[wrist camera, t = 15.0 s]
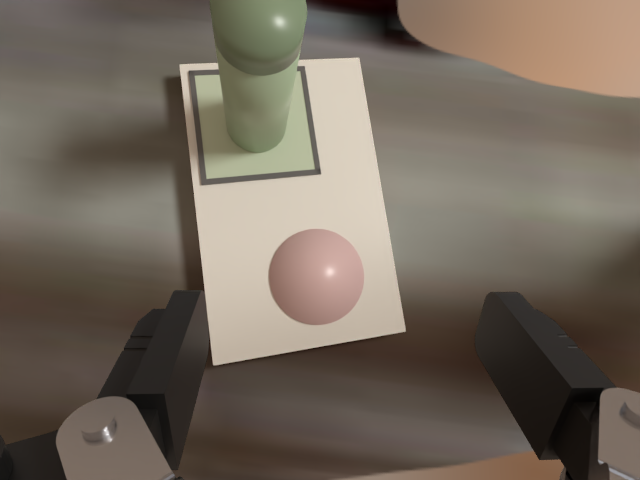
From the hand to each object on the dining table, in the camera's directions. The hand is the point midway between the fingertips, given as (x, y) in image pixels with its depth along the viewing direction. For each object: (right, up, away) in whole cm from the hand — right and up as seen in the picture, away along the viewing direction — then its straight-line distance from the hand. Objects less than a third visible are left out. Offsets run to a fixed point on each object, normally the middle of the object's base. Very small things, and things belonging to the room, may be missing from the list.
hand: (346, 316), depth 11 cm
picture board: (-3, +5, +20) cm, 21 cm away
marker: (-5, +11, +19) cm, 22 cm away
